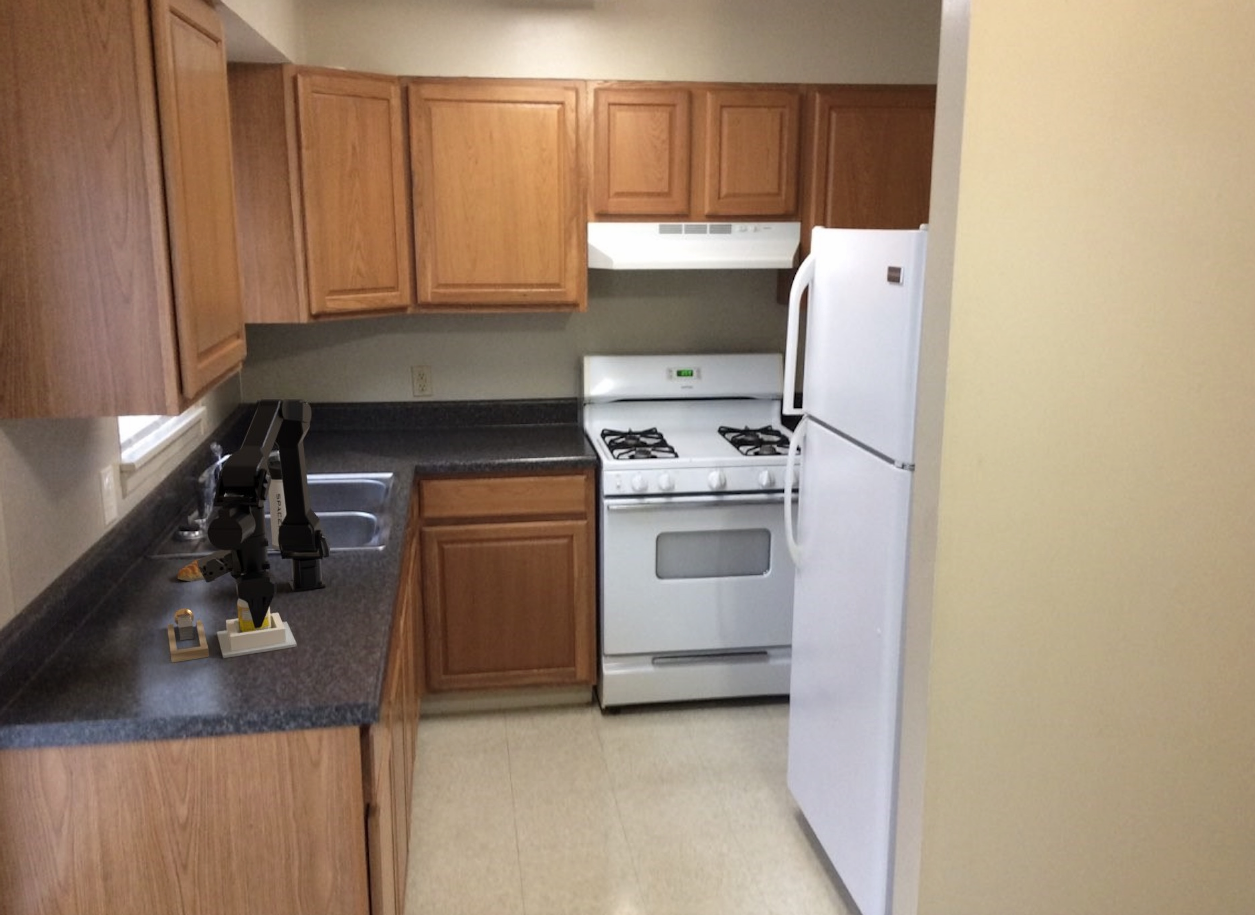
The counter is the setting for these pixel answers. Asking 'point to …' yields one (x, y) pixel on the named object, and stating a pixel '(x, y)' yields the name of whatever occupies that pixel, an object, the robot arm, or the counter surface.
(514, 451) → the counter surface
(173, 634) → the mount
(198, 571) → the pastry
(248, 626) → the supplement bottle
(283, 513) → the travel mug
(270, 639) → the socket
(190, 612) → the lock pin
